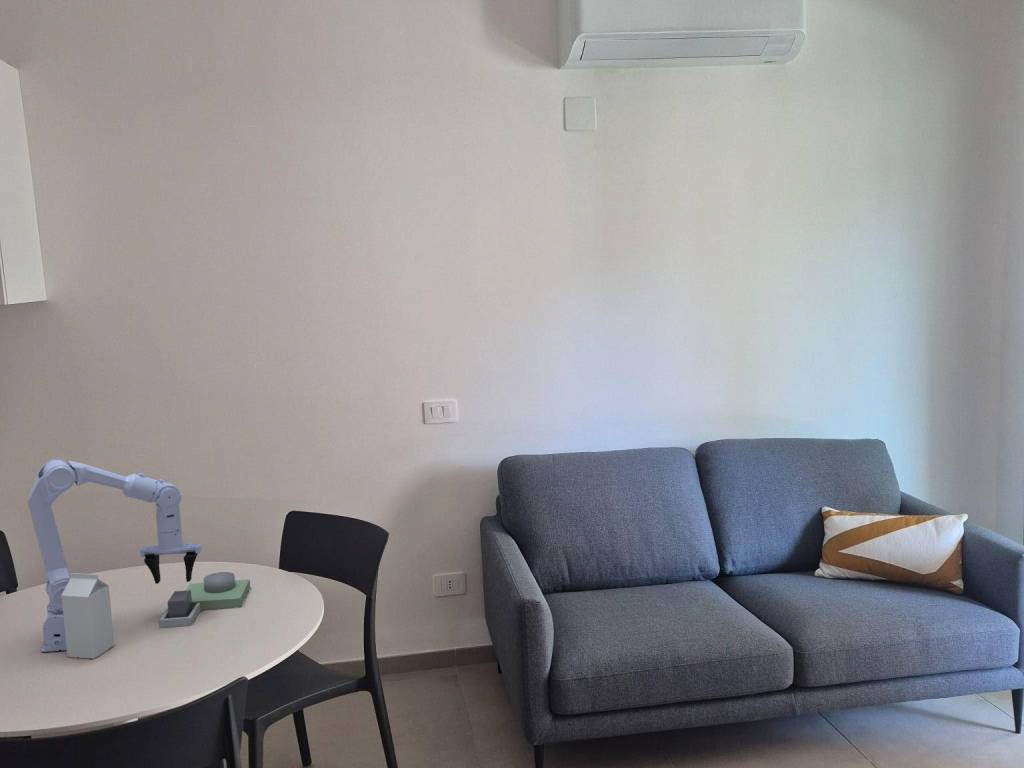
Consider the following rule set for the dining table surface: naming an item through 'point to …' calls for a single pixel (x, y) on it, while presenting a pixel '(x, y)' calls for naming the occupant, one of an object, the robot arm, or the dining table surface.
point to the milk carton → (87, 616)
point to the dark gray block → (180, 604)
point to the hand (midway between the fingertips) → (173, 581)
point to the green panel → (211, 597)
